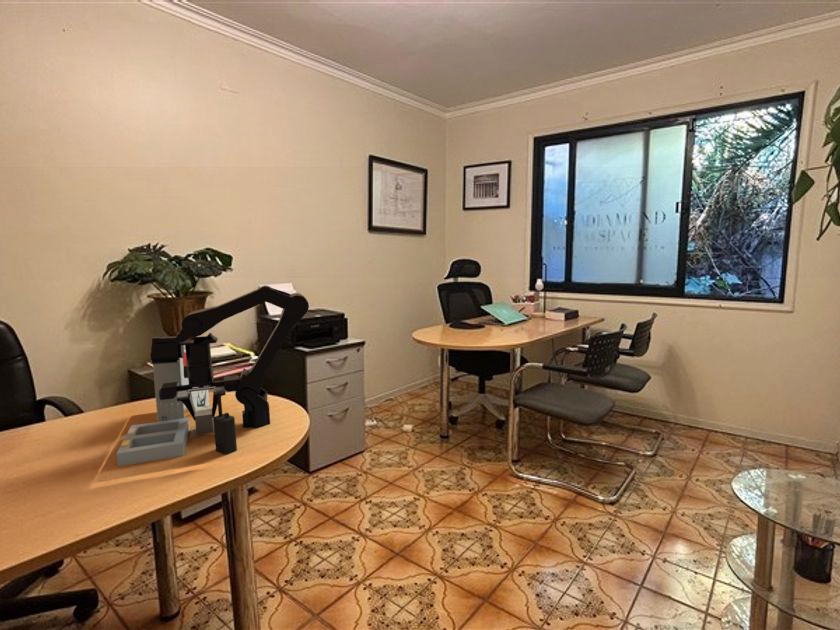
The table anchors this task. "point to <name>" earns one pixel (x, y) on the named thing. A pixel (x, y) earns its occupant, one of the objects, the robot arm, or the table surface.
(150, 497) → the table surface
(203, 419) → the plug
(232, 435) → the walkie-talkie
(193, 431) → the brown flat square plate
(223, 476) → the table surface
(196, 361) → the robot arm
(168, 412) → the hard drive box
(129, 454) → the dock
